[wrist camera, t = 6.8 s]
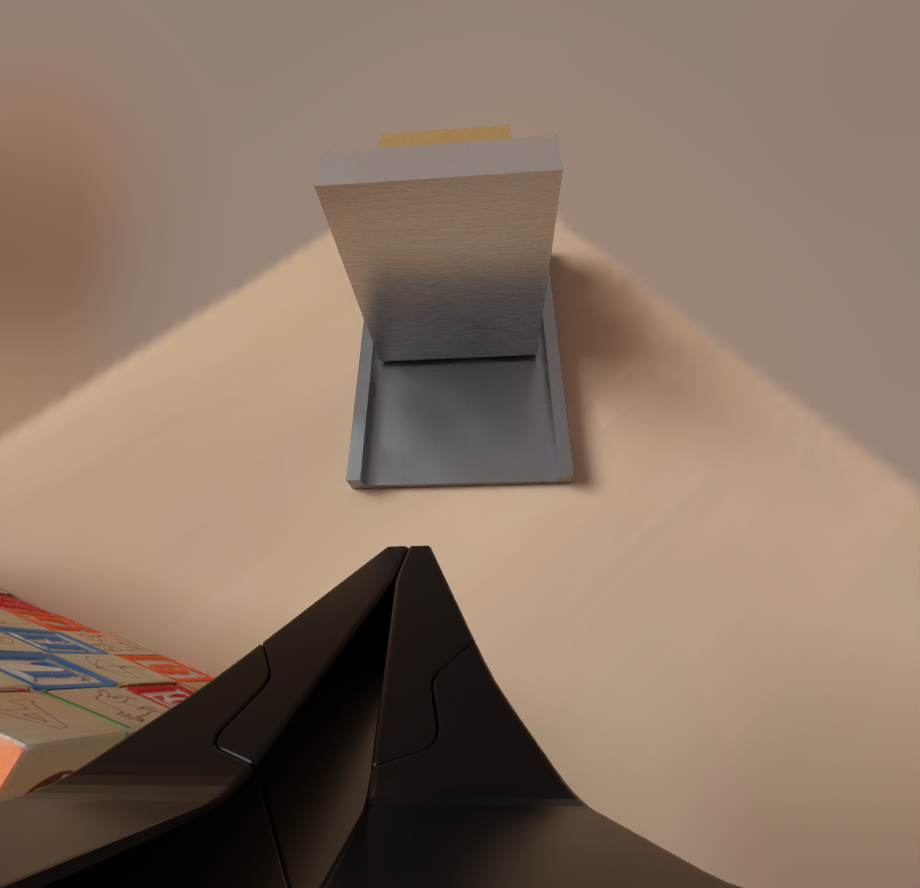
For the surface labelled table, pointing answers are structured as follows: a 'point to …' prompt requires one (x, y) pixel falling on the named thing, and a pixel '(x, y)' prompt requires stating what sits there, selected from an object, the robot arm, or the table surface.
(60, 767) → the stack of blocks
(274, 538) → the table surface
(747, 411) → the table surface
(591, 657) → the table surface
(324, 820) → the robot arm
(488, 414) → the vise
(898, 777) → the table surface
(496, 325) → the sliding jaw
